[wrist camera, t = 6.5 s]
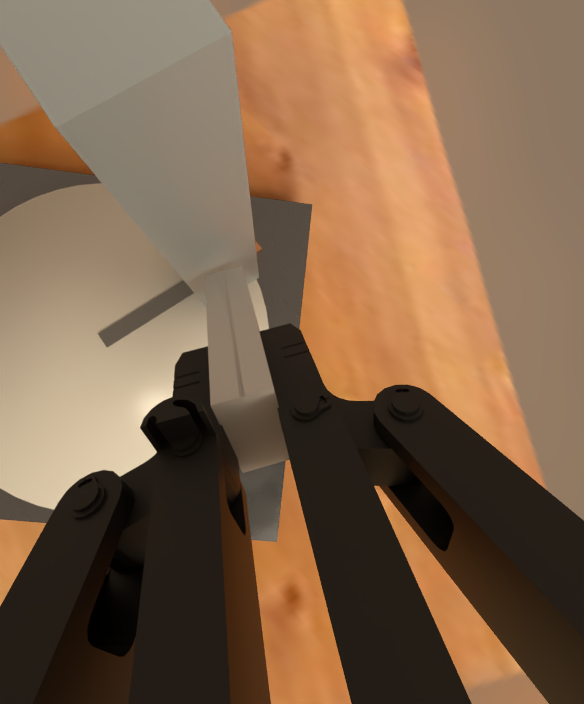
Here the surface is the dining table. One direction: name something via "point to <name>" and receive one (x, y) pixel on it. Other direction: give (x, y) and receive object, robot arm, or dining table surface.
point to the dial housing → (277, 290)
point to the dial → (116, 230)
